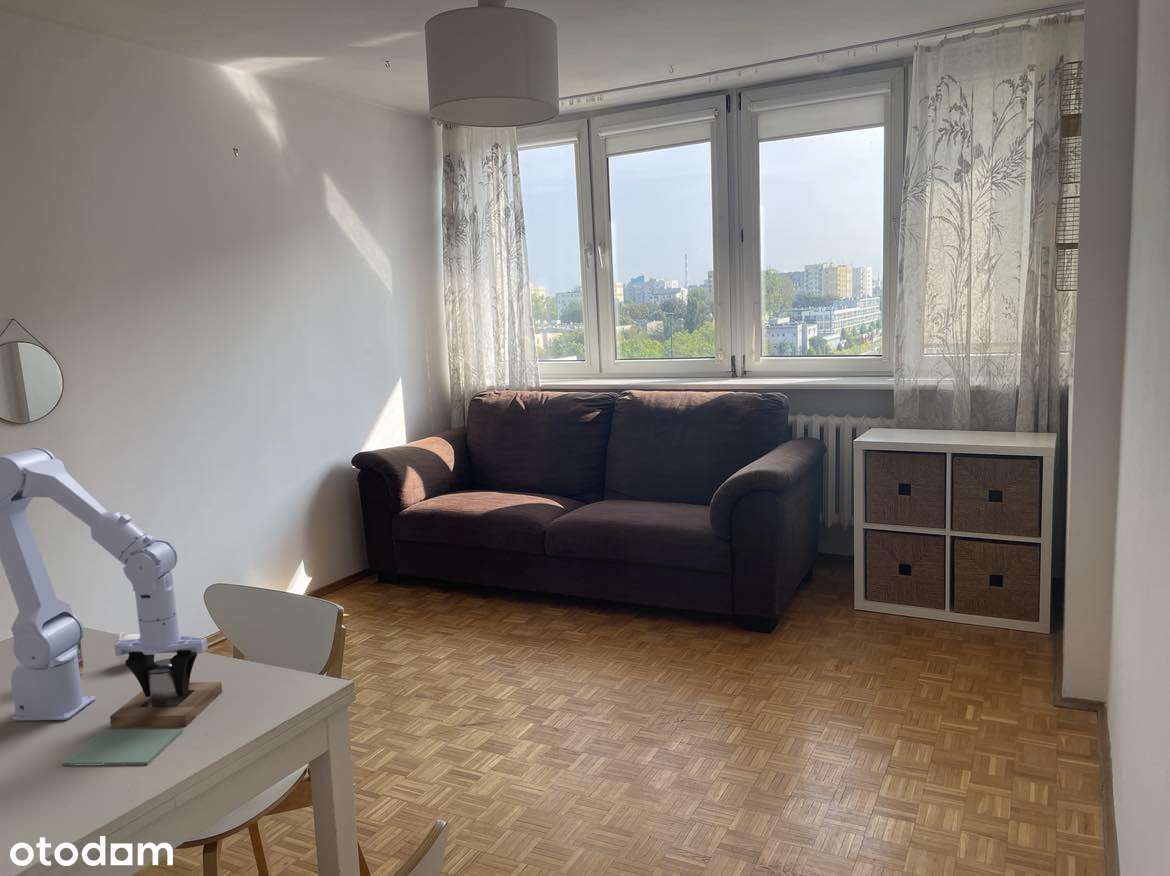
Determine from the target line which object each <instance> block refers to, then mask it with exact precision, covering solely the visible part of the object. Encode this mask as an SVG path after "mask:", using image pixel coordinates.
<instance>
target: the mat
mask: <svg viewBox="0 0 1170 876" xmlns="http://www.w3.org/2000/svg"><path fill="white" fill-rule="evenodd" d="M182 733H183V728H178V729H176V728H175V729H173V728H170V729H169V728H166V729H164V728H163V729H157V728H156V729H154V728H153V729H102V730H101V731H99V732H98V733H97V734H95V736H93V737H92V738H91V739H90V740H88V741H87V742H85V744H84V745H82V746H81V747H80V748H79V749H78V750H76V751H75V752H74V753H72V754H71V755H70V756H69V757H68V758H67V759H65V760H64V761H63V762H61V765H62V766H75V765H74V764H103V763H104V764H148V765H149V764H150V763H151V762H152V761H153V760H154V759H155V758H156V757H158V755H160V754H161V752H163V751H164V750H165V749H166V748H167V747H168V746H169V745H170V744H171V743H172V742H173V741H174V740H175V739H176V738H178V736H179V735H180V734H182ZM71 764H72V765H71Z"/></svg>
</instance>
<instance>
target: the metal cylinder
mask: <svg viewBox="0 0 1170 876" xmlns="http://www.w3.org/2000/svg"><path fill="white" fill-rule="evenodd" d="M170 659H171V658H164V659H159V660H156V661H155V660H154V662H153V663H151V664H149V665H148V666H147V675H148V683H149V690H150V698H151V706H152V707H177V706H178V705H179V704H180V703H182V702H183V701H184V700H185V699H184V696H179V695H178V692H177V683H176V677H175V673H174V670H173V667H172V665H171V663H170Z"/></svg>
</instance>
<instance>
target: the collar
mask: <svg viewBox="0 0 1170 876" xmlns="http://www.w3.org/2000/svg"><path fill="white" fill-rule="evenodd" d="M222 693H223V686H222V681H200V682H199V681H198V682H195V681H194V682H193V681H191V682H190V681H189V689H188V692H187V693H186V694H185V695H184V699H185V700H184V701H183V702H182V703H180V704H179V705H178V706H177V707H152V706H151V698H150V697H146V696H145V694H144V692H143V689H142V690H141V691H140V692H139V693H138V694H135V696H134V697H132V698H131V699H130V700H128V701H127V702H126V703H125V704H123V705H122V706H121V707H120V708H119V709H118V710H115V712H114V713H112V714H111V715H110V716H109V720H110V726H111V728H130V727H131V728H133V727H134V728H136V727H138V728H139V727H141V728H143V727H144V728H145V727H148V728H149V727H187V726H188V725H189V724H190V723H191V722H193V721H194V719H195V718H196V717H198V716H199V715H200V714H201V713H202V712H203V711H204V710H205V709H206V708H207V707H208V706H209V705H210V704H211V703H212V702H213V701H214V700H215V699H216V698H218V697H219V695H220V694H222Z"/></svg>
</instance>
